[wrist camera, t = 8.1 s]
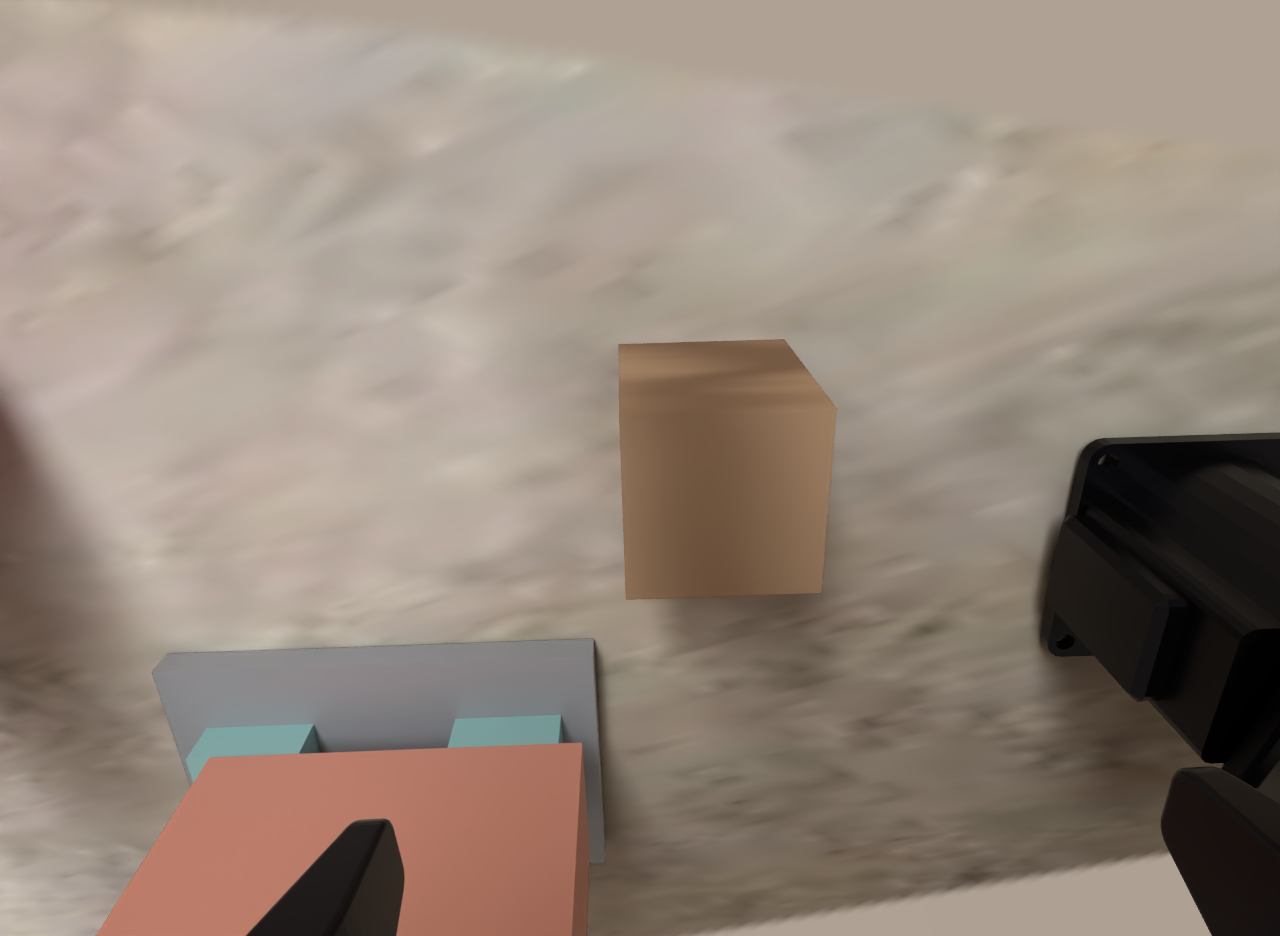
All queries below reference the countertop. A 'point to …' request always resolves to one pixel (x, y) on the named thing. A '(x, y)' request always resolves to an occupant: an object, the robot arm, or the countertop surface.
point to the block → (723, 469)
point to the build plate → (387, 702)
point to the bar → (424, 827)
